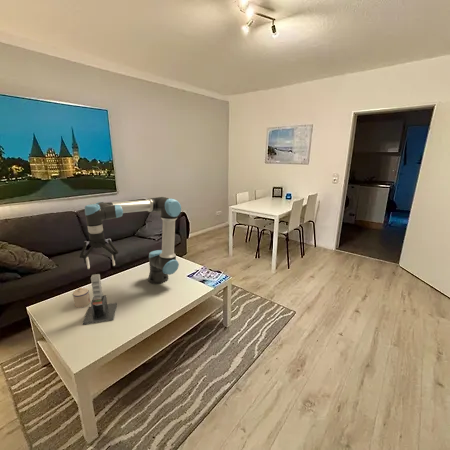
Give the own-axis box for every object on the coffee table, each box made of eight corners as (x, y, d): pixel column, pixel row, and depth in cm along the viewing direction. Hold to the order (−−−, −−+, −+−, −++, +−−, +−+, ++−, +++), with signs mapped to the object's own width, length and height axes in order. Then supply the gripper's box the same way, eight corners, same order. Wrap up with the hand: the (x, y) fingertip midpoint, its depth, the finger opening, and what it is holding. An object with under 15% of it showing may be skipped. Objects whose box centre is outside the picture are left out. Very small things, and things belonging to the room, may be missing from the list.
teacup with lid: (93, 303, 161) (90, 287, 158) (78, 310, 154) (75, 293, 151) (84, 297, 168) (82, 281, 165) (70, 303, 161) (67, 287, 158)
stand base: (89, 308, 155) (86, 293, 152) (116, 304, 160) (114, 290, 157) (82, 325, 140) (80, 308, 138) (113, 320, 145) (111, 304, 142)
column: (96, 301, 149) (92, 274, 144) (103, 300, 150) (99, 273, 146) (94, 306, 145) (90, 278, 140) (102, 305, 146) (98, 277, 141)
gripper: (69, 236, 132) (76, 272, 138) (119, 231, 139) (123, 266, 145) (72, 232, 139) (79, 266, 145) (120, 228, 146) (124, 261, 152)
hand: (101, 266), depth 145 cm, fingers open, 13 cm apart
